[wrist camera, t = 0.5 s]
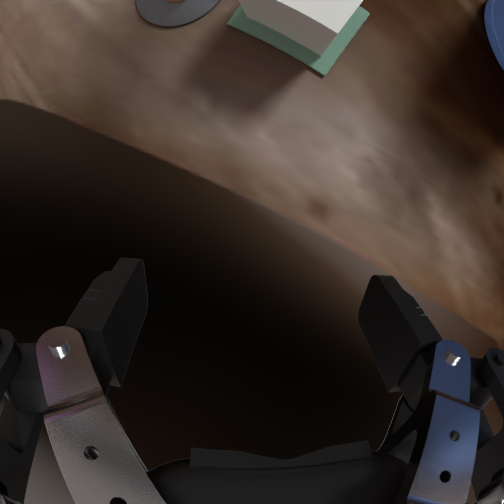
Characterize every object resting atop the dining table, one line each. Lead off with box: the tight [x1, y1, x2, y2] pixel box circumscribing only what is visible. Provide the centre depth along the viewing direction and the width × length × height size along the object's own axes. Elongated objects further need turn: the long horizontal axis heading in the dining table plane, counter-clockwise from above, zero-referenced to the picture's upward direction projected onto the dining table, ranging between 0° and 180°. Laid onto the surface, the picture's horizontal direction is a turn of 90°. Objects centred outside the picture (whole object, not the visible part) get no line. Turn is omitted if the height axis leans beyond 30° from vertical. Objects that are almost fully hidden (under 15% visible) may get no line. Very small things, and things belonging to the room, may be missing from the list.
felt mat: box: [227, 4, 370, 76], centre depth 22 cm, size 12×10×1 cm
